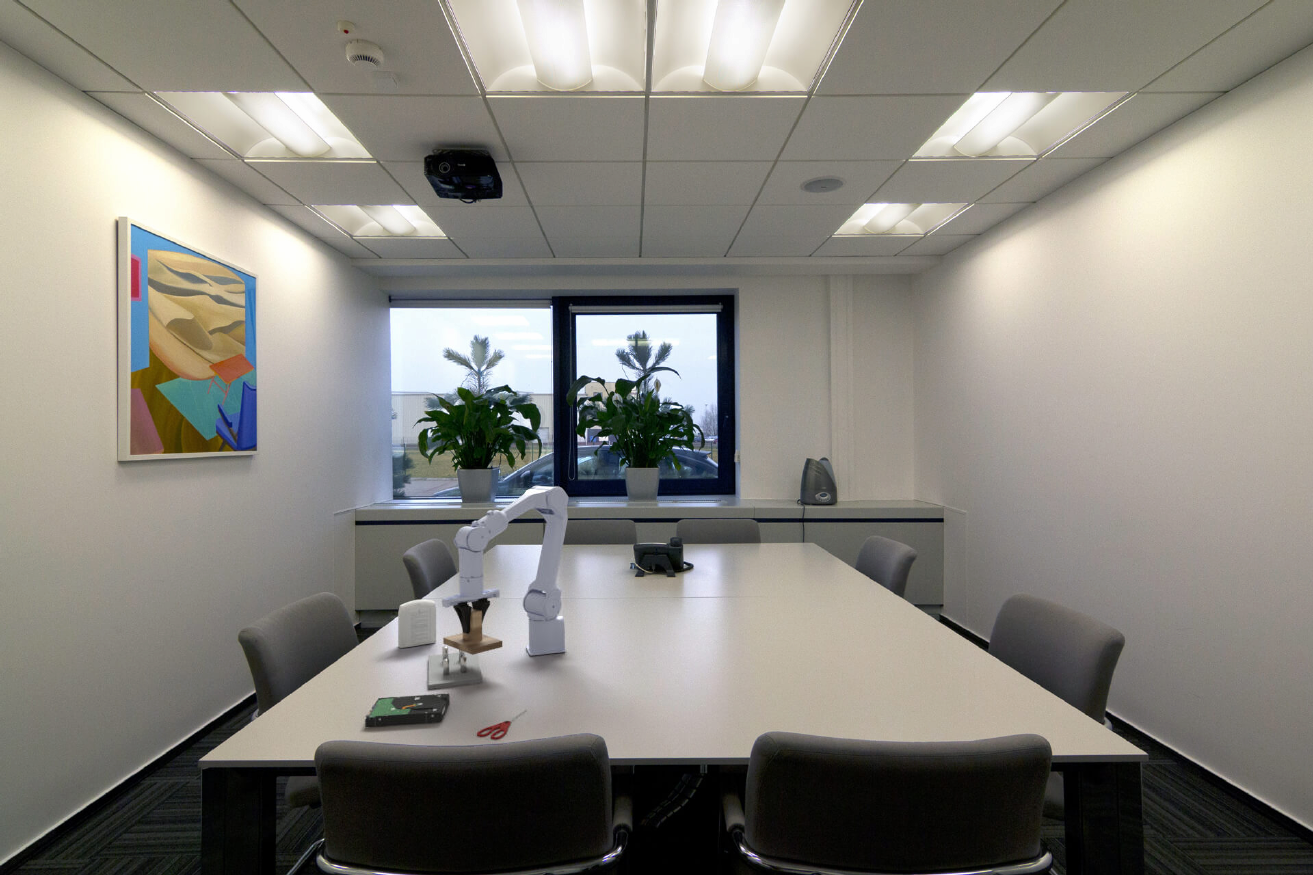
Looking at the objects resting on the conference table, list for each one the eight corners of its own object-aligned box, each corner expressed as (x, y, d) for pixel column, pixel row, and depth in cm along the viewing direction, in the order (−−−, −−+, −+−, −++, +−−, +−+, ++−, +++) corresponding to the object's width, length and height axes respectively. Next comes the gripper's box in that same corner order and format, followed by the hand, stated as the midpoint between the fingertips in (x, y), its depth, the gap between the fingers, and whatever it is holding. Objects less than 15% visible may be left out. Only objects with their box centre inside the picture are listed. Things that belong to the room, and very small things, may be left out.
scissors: (474, 738, 129) (474, 732, 129) (515, 710, 142) (515, 705, 142) (498, 742, 127) (498, 737, 127) (537, 714, 140) (537, 709, 140)
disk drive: (449, 705, 146) (377, 709, 143) (449, 692, 146) (377, 696, 144) (441, 725, 135) (364, 730, 133) (441, 711, 135) (364, 716, 133)
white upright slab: (434, 639, 192) (433, 596, 192) (438, 643, 189) (437, 599, 189) (396, 645, 187) (396, 601, 187) (400, 649, 183) (399, 604, 183)
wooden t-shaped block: (502, 646, 162) (501, 611, 162) (472, 654, 157) (471, 618, 157) (472, 636, 172) (471, 603, 172) (443, 643, 167) (442, 609, 167)
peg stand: (476, 654, 178) (476, 637, 178) (482, 682, 157) (482, 663, 157) (428, 659, 174) (428, 642, 174) (428, 689, 154) (428, 669, 154)
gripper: (488, 569, 173) (489, 622, 173) (435, 578, 162) (436, 634, 162) (503, 573, 168) (504, 627, 168) (450, 582, 157) (450, 640, 157)
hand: (471, 631), depth 165 cm, fingers closed on wooden t-shaped block, 2 cm apart
